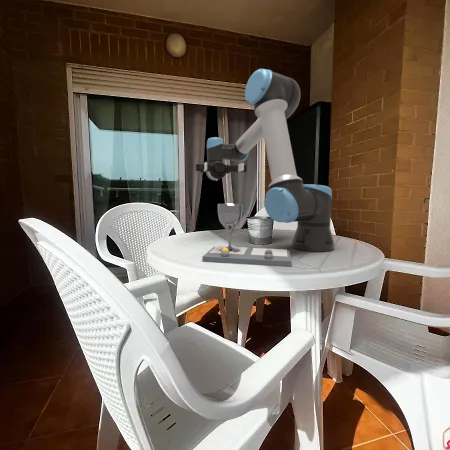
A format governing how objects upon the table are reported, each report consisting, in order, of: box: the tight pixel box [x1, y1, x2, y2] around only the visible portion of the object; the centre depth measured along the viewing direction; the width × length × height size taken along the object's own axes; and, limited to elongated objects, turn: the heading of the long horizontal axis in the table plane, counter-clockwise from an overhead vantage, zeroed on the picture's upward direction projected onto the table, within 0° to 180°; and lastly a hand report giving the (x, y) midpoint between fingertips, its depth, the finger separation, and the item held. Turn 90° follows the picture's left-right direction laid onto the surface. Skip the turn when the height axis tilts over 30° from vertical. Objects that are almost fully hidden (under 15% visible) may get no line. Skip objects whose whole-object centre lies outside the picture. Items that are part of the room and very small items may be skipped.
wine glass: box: [217, 203, 243, 252], centre depth 87 cm, size 8×8×15 cm
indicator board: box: [201, 245, 293, 268], centre depth 85 cm, size 26×15×4 cm, turn 79°
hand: (224, 166), depth 98 cm, fingers open, 13 cm apart
